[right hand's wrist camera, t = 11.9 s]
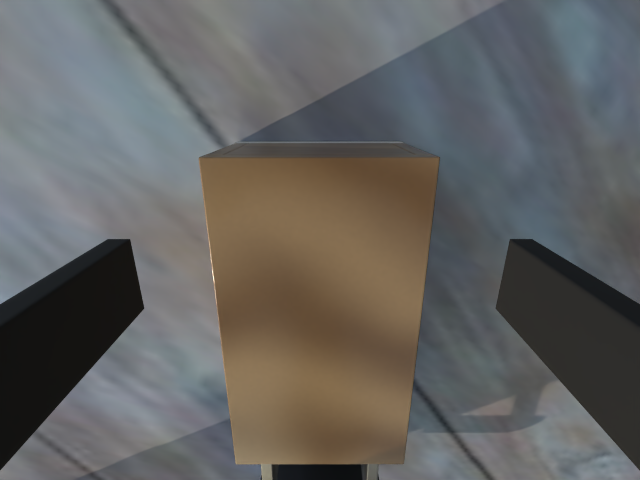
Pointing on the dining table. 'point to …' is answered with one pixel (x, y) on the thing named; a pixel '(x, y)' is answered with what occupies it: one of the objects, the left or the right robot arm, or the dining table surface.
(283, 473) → the drawer
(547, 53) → the dining table surface
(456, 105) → the dining table surface
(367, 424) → the cabinet
